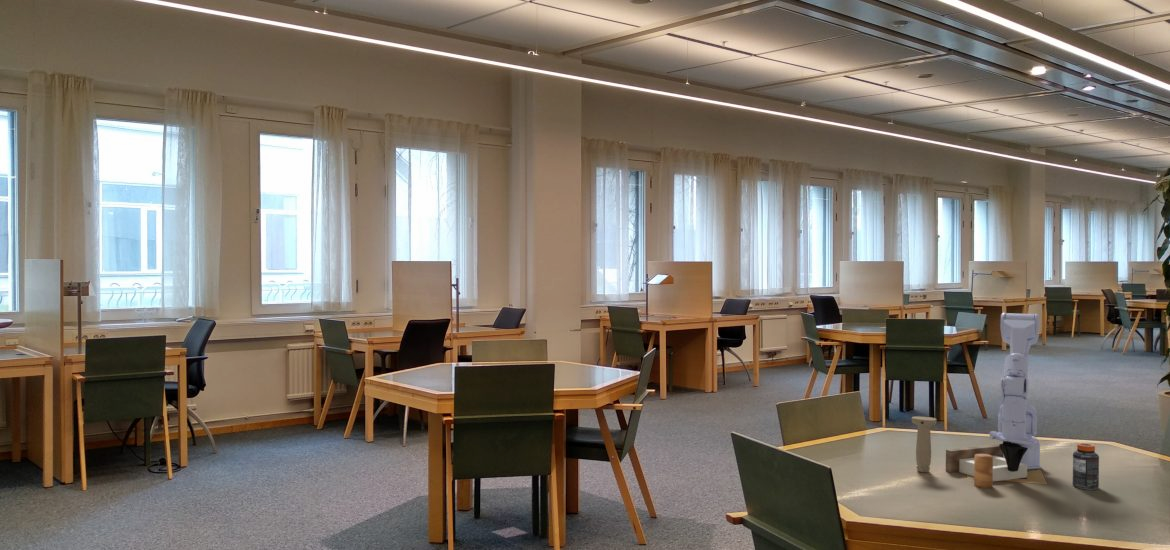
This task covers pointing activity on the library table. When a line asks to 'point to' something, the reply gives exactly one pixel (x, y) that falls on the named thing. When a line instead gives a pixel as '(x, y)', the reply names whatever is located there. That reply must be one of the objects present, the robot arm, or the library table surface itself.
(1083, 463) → the pill bottle
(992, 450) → the wall
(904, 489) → the library table surface
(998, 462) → the socket block
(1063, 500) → the library table surface
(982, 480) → the dowel
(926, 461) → the handle
